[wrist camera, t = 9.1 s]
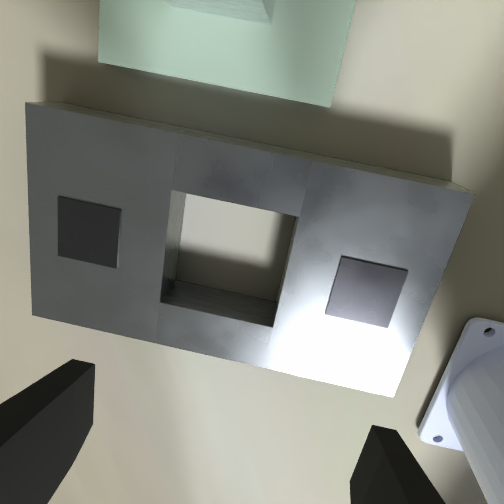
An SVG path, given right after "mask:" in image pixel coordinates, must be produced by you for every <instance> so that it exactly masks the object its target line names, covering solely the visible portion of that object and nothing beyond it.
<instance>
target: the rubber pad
mask: <svg viewBox="0 0 504 504" xmlns="http://www.w3.org/2000/svg"><path fill="white" fill-rule="evenodd" d="M355 2H356V0H276V1H275V7H274V13H273V19H272V24H271V25H267V24H261V23H256V22H250V21H245V20H240V19H234V18H229V17H223V16H218V15H213V14H207V13H202V12H197V11H191V10H186V9H180V8H175V7H172V6H171V5H169V4H168V3H166V2H165V1H164V0H100V4H99V36H98V62H101V63H106V64H111V65H116V66H121V67H126V68H132V69H137V70H142V71H147V72H152V73H157V74H162V75H167V76H172V77H177V78H182V79H187V80H192V81H197V82H203V83H208V84H213V85H218V86H223V87H228V88H233V89H238V90H243V91H248V92H253V93H258V94H263V95H268V96H273V97H279V98H284V99H289V100H294V101H299V102H304V103H309V104H314V105H319V106H324V107H329V108H330V106H331V102H332V97H333V93H334V89H335V85H336V81H337V77H338V73H339V69H340V64H341V60H342V56H343V52H344V48H345V44H346V40H347V36H348V31H349V27H350V23H351V19H352V15H353V11H354V7H355Z"/></svg>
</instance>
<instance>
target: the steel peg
mask: <svg viewBox="0 0 504 504" xmlns="http://www.w3.org/2000/svg"><path fill="white" fill-rule="evenodd" d="M164 1H165V2H166V3H168V4H169V5H171V6H172V7H175V8H180V9H186V10H191V11H197V12H202V13H207V14H213V15H218V16H223V17H229V18H234V19H240V20H245V21H250V22H256V23H261V24H267V25H271V24H272V19H273V13H274V7H275V1H276V0H164Z"/></svg>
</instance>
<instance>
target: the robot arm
mask: <svg viewBox="0 0 504 504" xmlns="http://www.w3.org/2000/svg"><path fill="white" fill-rule="evenodd" d="M487 328H491V330H490V331H489V332H487V333H484V330H485V329H487ZM94 382H95V364H93V363H88V362H84V361H79V360H74V359H72V360H70V361H68V362H67V363H65V364H63V365H62V366H60V367H59V368H57V369H55V370H54V371H52V372H51V373H49V374H48V375H46V376H44V377H43V378H41V379H40V380H38V381H37V382H35V383H33V384H32V385H30V386H29V387H27V388H26V389H24V390H22V391H21V392H19V393H18V394H16V395H14V396H13V397H11V398H9V399H8V400H6V401H5V402H3V403H1V404H0V504H47V503H48V502H49V500H50V499H51V497H52V496H53V494H54V493H55V491H56V490H57V488H58V486H59V485H60V483H61V482H62V480H63V479H64V477H65V475H66V474H67V472H68V471H69V469H70V468H71V466H72V464H73V463H74V461H75V459H76V457H77V455H78V453H79V451H80V449H81V447H82V445H83V443H84V441H85V439H86V437H87V435H88V433H89V431H90V429H91V427H92V425H93V409H94ZM418 435H419V438H420V440H421V441H422V442H425V443H429V444H433V445H437V446H442V447H446V448H450V449H455V450H459V451H463V452H464V454H465V456H466V458H467V460H468V462H469V464H470V467H471V469H472V471H473V473H474V475H475V477H476V479H477V482H478V484H479V486H480V488H481V490H482V492H483V495H484V497H485V499H486V501H487V503H488V504H504V323H502V322H498V321H493V320H489V319H484V318H472V319H470V320H469V321H468V322H467V323H466V325H465V327H464V330H463V332H462V334H461V336H460V338H459V341H458V343H457V345H456V347H455V349H454V352H453V354H452V356H451V358H450V360H449V363H448V365H447V367H446V369H445V371H444V374H443V376H442V378H441V380H440V382H439V385H438V387H437V389H436V391H435V393H434V396H433V398H432V400H431V402H430V405H429V407H428V409H427V411H426V413H425V416H424V418H423V420H422V422H421V424H420V427H419V429H418ZM436 435H439V436H438V437H434V436H436ZM350 497H351V504H446V503H445V502H444V501H443V499H442V498H441V496H440V495H439V493H438V492H437V490H436V489H435V487H434V486H433V485H432V483H431V482H430V480H429V479H428V477H427V476H426V474H425V473H424V471H423V470H422V468H421V467H420V465H419V464H418V462H417V461H416V459H415V458H414V456H413V454H412V453H411V451H410V450H409V448H408V447H407V445H406V444H405V442H404V441H403V439H402V438H401V436H400V435H399V433H398V432H397V431H396V430H393V429H389V428H384V427H380V426H375V425H372V427H371V429H370V432H369V434H368V437H367V439H366V442H365V444H364V447H363V449H362V452H361V454H360V457H359V459H358V462H357V465H356V467H355V470H354V472H353V475H352V477H351V480H350Z"/></svg>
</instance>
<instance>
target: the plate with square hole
mask: <svg viewBox="0 0 504 504" xmlns="http://www.w3.org/2000/svg"><path fill="white" fill-rule="evenodd" d="M25 114H26V144H27V174H28V204H29V235H30V265H31V295H32V315H34V316H38V317H43V318H47V319H51V320H56V321H60V322H65V323H69V324H73V325H78V326H82V327H86V328H91V329H95V330H100V331H104V332H108V333H113V334H117V335H122V336H126V337H130V338H135V339H139V340H144V341H148V342H152V343H157V344H161V345H166V346H170V347H174V348H179V349H183V350H188V351H192V352H196V353H201V354H205V355H209V356H214V357H218V358H223V359H227V360H231V361H236V362H240V363H245V364H249V365H253V366H258V367H262V368H267V369H271V370H275V371H280V372H284V373H289V374H293V375H297V376H302V377H306V378H310V379H315V380H319V381H324V382H328V383H332V384H337V385H341V386H346V387H350V388H354V389H359V390H363V391H368V392H372V393H376V394H381V395H385V396H390V397H393V396H394V394H395V391H396V389H397V387H398V384H399V382H400V379H401V377H402V374H403V372H404V369H405V367H406V364H407V362H408V359H409V357H410V354H411V352H412V349H413V347H414V345H415V342H416V340H417V337H418V335H419V332H420V330H421V327H422V325H423V322H424V320H425V317H426V315H427V312H428V310H429V308H430V305H431V303H432V300H433V298H434V295H435V293H436V290H437V288H438V285H439V283H440V280H441V278H442V275H443V273H444V270H445V268H446V266H447V263H448V261H449V258H450V256H451V253H452V251H453V248H454V246H455V243H456V241H457V238H458V236H459V233H460V231H461V228H462V226H463V224H464V221H465V219H466V216H467V214H468V211H469V209H470V206H471V204H472V201H473V199H474V196H475V193H473V192H471V191H469V190H467V189H465V188H463V187H461V186H459V185H457V184H456V183H454V182H451V181H446V180H441V179H437V178H432V177H427V176H422V175H417V174H412V173H407V172H402V171H397V170H392V169H387V168H382V167H377V166H372V165H367V164H363V163H358V162H353V161H348V160H343V159H338V158H333V157H328V156H323V155H318V154H313V153H308V152H303V151H298V150H293V149H288V148H284V147H279V146H274V145H269V144H264V143H259V142H254V141H249V140H244V139H239V138H234V137H229V136H224V135H219V134H214V133H210V132H205V131H200V130H195V129H190V128H185V127H180V126H175V125H170V124H165V123H160V122H155V121H150V120H145V119H140V118H136V117H131V116H126V115H121V114H116V113H111V112H106V111H101V110H96V109H91V108H86V107H81V106H76V105H71V104H66V103H62V102H25ZM186 193H188V194H193V195H197V196H202V197H207V198H212V199H217V200H221V201H226V202H231V203H236V204H240V205H245V206H250V207H255V208H259V209H264V210H269V211H274V212H278V213H283V214H288V215H293V216H296V220H295V224H294V228H293V233H292V237H291V241H290V245H289V250H288V254H287V258H286V262H285V267H284V271H283V275H282V279H281V284H280V288H279V292H278V297H277V301H276V302H274V301H269V300H265V299H260V298H256V297H251V296H246V295H242V294H237V293H233V292H228V291H224V290H219V289H215V288H210V287H206V286H201V285H196V284H192V283H187V282H183V281H178V280H176V272H177V264H178V255H179V247H180V239H181V231H182V223H183V214H184V206H185V198H186Z"/></svg>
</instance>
